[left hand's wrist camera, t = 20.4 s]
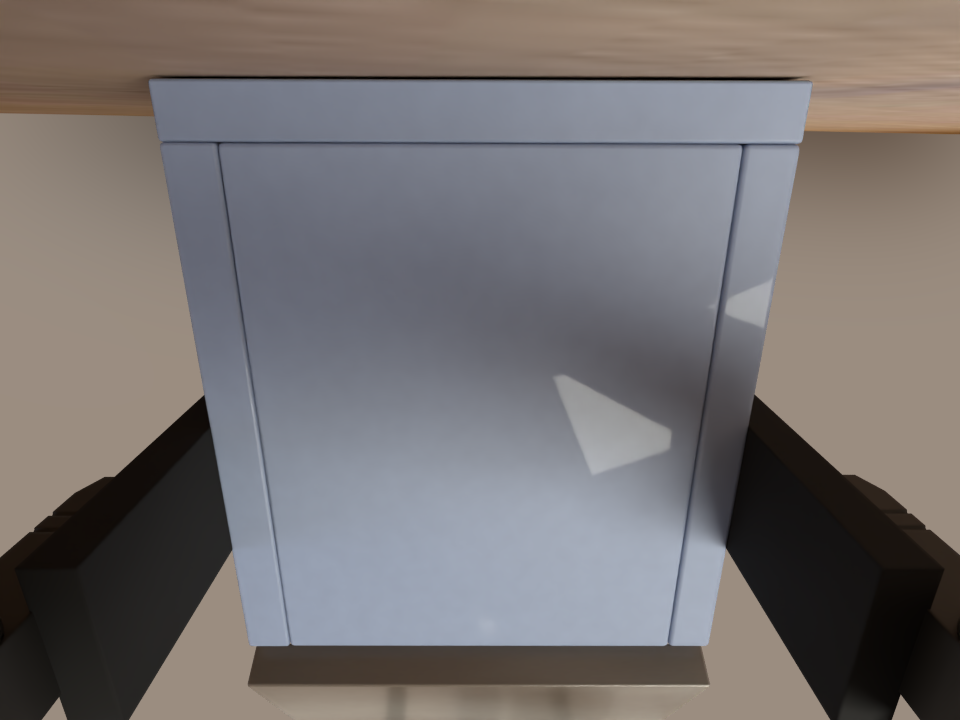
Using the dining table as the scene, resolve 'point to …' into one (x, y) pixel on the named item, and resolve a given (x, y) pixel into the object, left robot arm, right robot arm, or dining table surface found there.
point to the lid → (478, 681)
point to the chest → (479, 345)
